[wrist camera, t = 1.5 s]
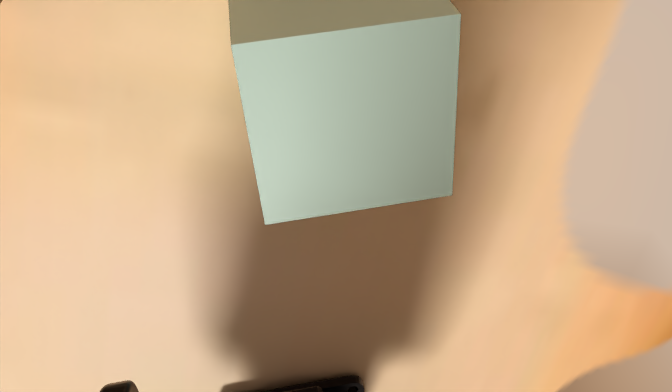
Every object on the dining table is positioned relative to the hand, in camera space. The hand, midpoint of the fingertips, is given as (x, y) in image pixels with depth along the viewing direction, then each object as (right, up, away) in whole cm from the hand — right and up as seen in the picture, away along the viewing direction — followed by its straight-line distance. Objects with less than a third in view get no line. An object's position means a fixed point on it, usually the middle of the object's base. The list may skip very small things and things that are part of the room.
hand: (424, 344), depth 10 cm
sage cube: (-2, +7, +9) cm, 12 cm away
